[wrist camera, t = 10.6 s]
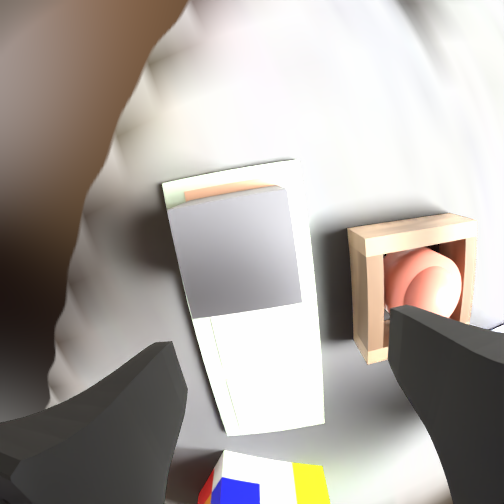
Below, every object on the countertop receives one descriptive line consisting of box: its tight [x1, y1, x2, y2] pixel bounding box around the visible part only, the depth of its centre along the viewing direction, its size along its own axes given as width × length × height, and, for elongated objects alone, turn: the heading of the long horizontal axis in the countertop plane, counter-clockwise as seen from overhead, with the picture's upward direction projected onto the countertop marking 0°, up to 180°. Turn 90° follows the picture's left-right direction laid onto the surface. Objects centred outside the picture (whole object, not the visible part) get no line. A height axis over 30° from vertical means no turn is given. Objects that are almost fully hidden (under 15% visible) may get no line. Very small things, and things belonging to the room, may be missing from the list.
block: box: [167, 185, 303, 319], centre depth 15 cm, size 5×5×5 cm
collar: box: [347, 213, 477, 365], centre depth 18 cm, size 8×8×3 cm
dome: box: [383, 246, 461, 318], centre depth 17 cm, size 5×5×4 cm
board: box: [162, 159, 325, 436], centre depth 20 cm, size 8×20×1 cm, turn 9°
